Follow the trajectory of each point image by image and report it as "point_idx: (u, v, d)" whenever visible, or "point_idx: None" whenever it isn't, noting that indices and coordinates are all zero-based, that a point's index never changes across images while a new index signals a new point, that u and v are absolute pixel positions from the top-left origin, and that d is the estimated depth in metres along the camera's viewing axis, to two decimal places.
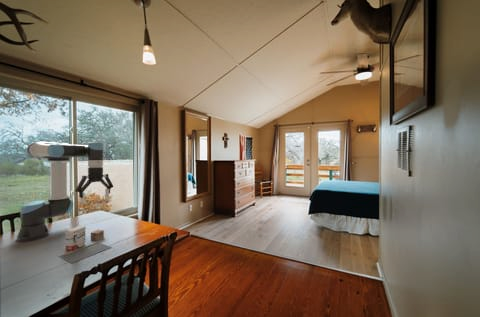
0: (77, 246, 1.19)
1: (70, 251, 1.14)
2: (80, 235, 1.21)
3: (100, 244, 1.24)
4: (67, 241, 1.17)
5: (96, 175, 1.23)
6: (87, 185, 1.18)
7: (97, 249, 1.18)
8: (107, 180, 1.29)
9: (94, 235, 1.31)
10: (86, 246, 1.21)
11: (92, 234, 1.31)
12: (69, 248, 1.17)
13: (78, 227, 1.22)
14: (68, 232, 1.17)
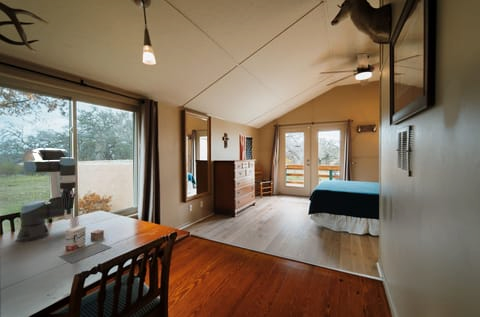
0: (77, 246, 1.19)
1: (70, 251, 1.14)
2: (80, 235, 1.21)
3: (100, 244, 1.24)
4: (67, 241, 1.17)
5: (65, 190, 1.24)
6: (64, 201, 1.24)
7: (97, 249, 1.18)
8: None
9: (94, 235, 1.31)
10: (86, 246, 1.21)
11: (92, 234, 1.31)
12: (69, 248, 1.17)
13: (78, 227, 1.22)
14: (68, 232, 1.17)
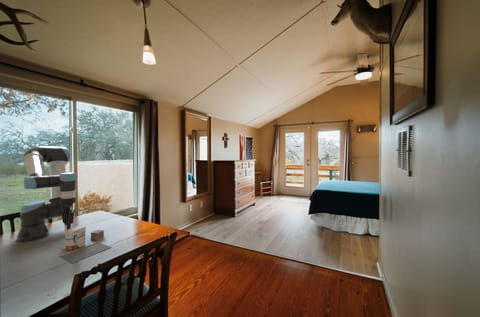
0: (77, 246, 1.19)
1: (70, 251, 1.14)
2: (80, 235, 1.21)
3: (100, 244, 1.24)
4: (67, 241, 1.17)
5: (65, 206, 1.24)
6: (64, 216, 1.24)
7: (97, 249, 1.18)
8: None
9: (94, 235, 1.31)
10: (86, 246, 1.21)
11: (92, 234, 1.31)
12: (69, 248, 1.17)
13: (78, 227, 1.22)
14: (68, 232, 1.17)
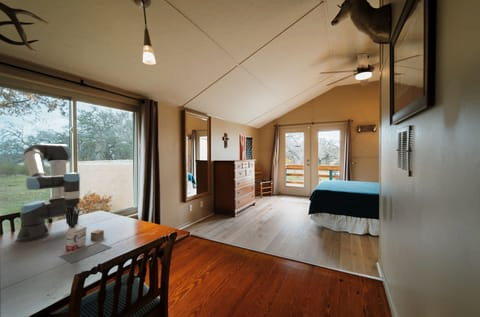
0: (77, 246, 1.19)
1: (70, 251, 1.14)
2: (81, 235, 1.21)
3: (100, 244, 1.24)
4: (68, 241, 1.17)
5: (69, 206, 1.21)
6: (68, 217, 1.22)
7: (97, 249, 1.18)
8: None
9: (94, 235, 1.31)
10: (86, 246, 1.21)
11: (92, 234, 1.31)
12: (69, 248, 1.17)
13: (79, 227, 1.22)
14: (69, 232, 1.16)
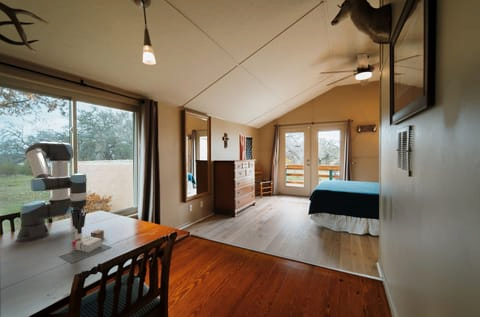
0: None
1: (70, 251, 1.14)
2: None
3: None
4: (79, 245, 1.15)
5: (76, 208, 1.18)
6: (74, 219, 1.19)
7: (97, 249, 1.18)
8: None
9: (94, 235, 1.31)
10: None
11: (92, 234, 1.31)
12: (73, 246, 1.16)
13: (97, 244, 1.19)
14: (86, 248, 1.14)
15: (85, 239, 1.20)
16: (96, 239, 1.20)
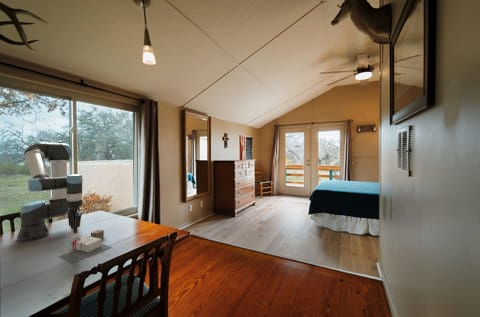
0: None
1: (70, 251, 1.14)
2: None
3: None
4: (79, 245, 1.15)
5: (72, 208, 1.20)
6: (70, 219, 1.21)
7: (97, 249, 1.18)
8: None
9: (94, 235, 1.31)
10: None
11: (92, 234, 1.31)
12: (74, 246, 1.16)
13: (97, 244, 1.19)
14: (87, 248, 1.14)
15: (86, 239, 1.20)
16: (96, 239, 1.20)
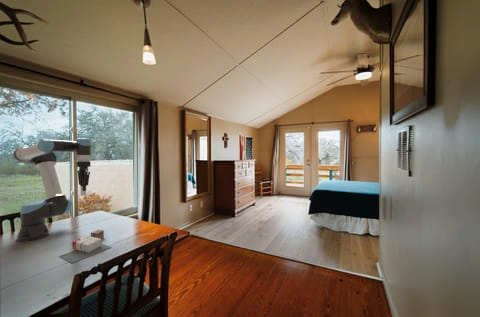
0: None
1: (70, 251, 1.14)
2: None
3: None
4: (79, 245, 1.15)
5: (81, 168, 1.34)
6: (80, 178, 1.35)
7: (97, 249, 1.18)
8: None
9: (94, 235, 1.31)
10: None
11: (92, 234, 1.31)
12: (73, 246, 1.16)
13: (97, 244, 1.19)
14: (86, 248, 1.14)
15: (85, 239, 1.20)
16: (96, 239, 1.20)
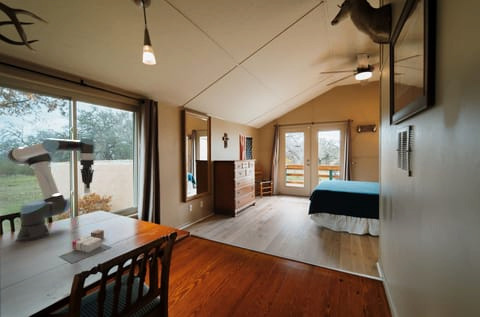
0: None
1: (70, 251, 1.14)
2: None
3: None
4: (79, 245, 1.15)
5: (85, 166, 1.39)
6: (84, 176, 1.40)
7: (97, 249, 1.18)
8: None
9: (94, 235, 1.31)
10: None
11: (92, 234, 1.31)
12: (73, 246, 1.16)
13: (97, 244, 1.19)
14: (86, 248, 1.14)
15: (85, 239, 1.20)
16: (96, 239, 1.20)
